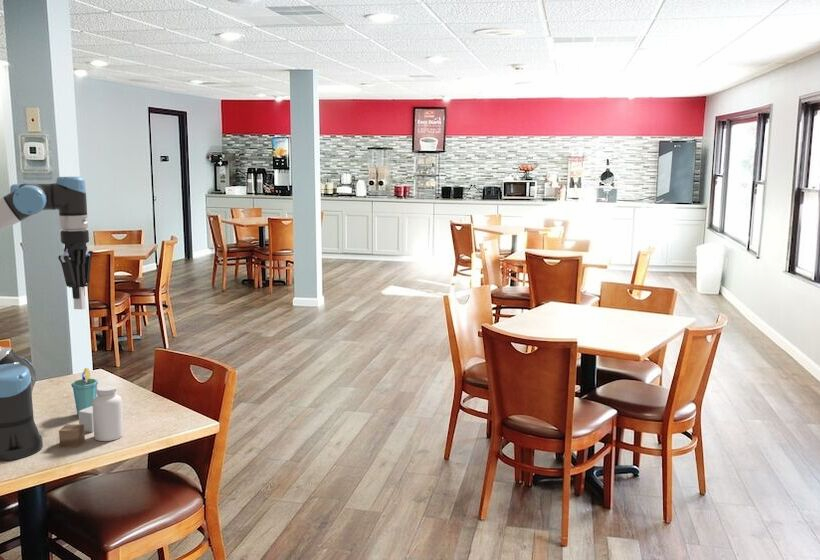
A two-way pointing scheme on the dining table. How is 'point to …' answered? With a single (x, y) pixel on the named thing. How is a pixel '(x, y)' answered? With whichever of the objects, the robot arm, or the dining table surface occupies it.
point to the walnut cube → (71, 435)
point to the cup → (84, 391)
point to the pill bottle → (107, 414)
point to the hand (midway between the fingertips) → (79, 308)
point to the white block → (87, 419)
